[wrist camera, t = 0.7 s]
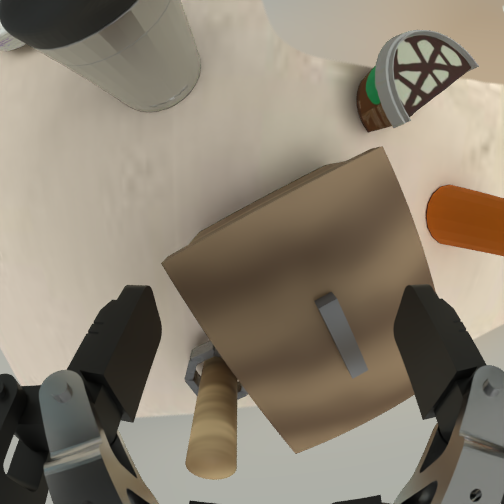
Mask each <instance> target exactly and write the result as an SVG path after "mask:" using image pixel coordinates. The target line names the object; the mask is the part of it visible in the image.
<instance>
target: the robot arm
mask: <svg viewBox="0 0 504 504" xmlns="http://www.w3.org/2000/svg"><path fill="white" fill-rule="evenodd" d="M0 22H1V24H2V26H3V27H4V29H5V30H6V31H7V32H8V33H9V34H10V35H12V36H13V37H15V38H16V39H18V40H20V41H22V42H24V43H25V44H27V45H29V46H31V47H32V48H34V49H36V50H38V51H39V52H41V53H43V54H45V55H46V56H48V57H50V58H51V59H53V60H55V61H57V62H59V63H60V64H62V65H64V66H65V67H67V68H69V69H70V70H72V71H74V72H75V73H77V74H79V75H80V76H82V77H84V78H85V79H87V80H88V81H90V82H92V83H93V84H95V85H97V86H98V87H100V88H101V89H103V90H104V91H106V92H108V93H109V94H111V95H112V96H114V97H115V98H117V99H118V100H120V101H122V102H123V103H125V104H126V105H128V106H129V107H131V108H133V109H136V110H139V111H145V112H153V111H160V110H164V109H167V108H169V107H171V106H173V105H175V104H177V103H178V102H180V101H181V100H183V99H184V98H185V97H186V96H187V95H188V94H189V93H190V92H191V90H192V89H193V87H194V86H195V84H196V82H197V80H198V77H199V74H200V69H201V64H200V57H199V54H198V51H197V48H196V45H195V41H194V38H193V35H192V32H191V29H190V26H189V23H188V20H187V18H186V15H185V12H184V9H183V6H182V3H181V0H0ZM393 332H394V339H395V341H396V344H397V347H398V349H399V352H400V354H401V357H402V360H403V363H404V365H405V368H406V371H407V374H408V376H409V379H410V382H411V385H412V388H413V391H414V394H415V397H416V400H417V403H418V406H419V409H420V412H421V415H422V419H423V420H424V419H429V418H433V417H436V419H437V422H438V423H437V424H436V425H435V427H434V429H433V431H432V434H431V436H430V439H429V441H428V444H427V446H426V448H425V451H424V453H423V455H422V457H421V460H420V462H419V464H418V466H417V468H416V470H415V472H414V474H413V476H412V477H411V479H410V481H409V482H408V483H407V484H406V486H405V487H404V488H403V489H402V491H401V492H400V494H399V495H398V496H397V498H396V500H395V502H394V503H393V504H500V503H501V504H504V372H503V371H502V370H501V369H499V368H498V367H495V366H491V365H486V363H485V361H484V360H483V358H482V356H481V354H480V352H479V350H478V349H477V347H476V345H475V344H474V342H473V340H472V338H471V336H470V335H469V333H468V331H466V328H465V326H464V325H463V323H462V322H460V318H459V316H458V315H457V313H456V312H455V310H454V308H452V307H451V306H450V305H449V304H448V303H447V302H445V301H444V300H443V299H439V298H438V296H437V294H436V293H435V291H434V290H433V288H432V287H431V286H430V285H429V284H420V285H407V286H406V288H405V290H404V292H403V296H402V299H401V302H400V305H399V309H398V312H397V315H396V318H395V321H394V327H393ZM161 334H162V326H161V321H160V317H159V313H158V310H157V306H156V302H155V299H154V295H153V291H152V289H151V287H150V286H142V285H126V286H125V287H124V289H123V291H122V292H121V294H120V296H119V297H118V299H117V300H112V301H110V302H109V303H108V304H107V305H106V306H105V307H103V308H102V309H101V310H100V312H99V313H98V315H97V317H96V318H95V320H94V324H92V325H91V327H90V329H89V330H88V334H86V336H85V337H84V339H83V341H82V343H81V345H80V346H79V348H78V350H77V352H76V354H75V356H74V357H73V359H72V361H71V363H70V365H69V367H68V368H67V370H61V371H57V372H55V373H53V374H51V375H50V376H48V377H47V378H46V379H45V380H44V382H43V383H42V385H36V386H20V385H19V384H18V382H17V381H16V379H15V378H14V377H13V376H12V375H9V374H1V375H0V504H45V502H46V498H47V494H48V490H49V492H50V495H51V498H52V501H53V504H159V503H158V502H157V500H156V498H155V497H154V495H153V494H152V493H151V491H150V490H149V489H148V487H147V486H146V485H145V483H144V482H143V480H142V479H141V476H140V475H139V473H138V471H137V469H136V467H135V465H134V463H133V461H132V459H131V456H130V454H129V452H128V450H127V448H126V446H125V444H124V441H123V439H122V437H121V434H120V432H119V431H118V427H119V423H120V421H121V420H122V421H127V422H134V419H135V416H136V412H137V409H138V406H139V403H140V400H141V397H142V393H143V390H144V387H145V384H146V381H147V378H148V375H149V372H150V369H151V366H152V363H153V360H154V357H155V354H156V352H157V349H158V346H159V343H160V340H161ZM13 435H15V436H16V437H17V438H18V439H19V441H18V444H17V447H16V450H15V452H14V455H13V458H12V461H11V464H10V468H9V470H8V473H7V474H5V472H4V468H3V463H4V459H5V457H6V454H7V451H8V448H9V446H10V443H11V440H12V438H13ZM189 504H214V503H204V502H197V501H190V502H189ZM332 504H389V503H382V502H381V496H380V495H377V496H372V497H367V498H361V499H355V500H348V501H341V502H335V503H332Z"/></svg>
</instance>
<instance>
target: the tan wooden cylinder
mask: <svg viewBox="0 0 504 504" xmlns="http://www.w3.org/2000/svg"><path fill="white" fill-rule="evenodd" d="M186 467H187V469H188V470H189V471H190V472H191V473H193V474H194V475H196V476H198V477H202V478H205V479H212V480H215V479H216V480H217V479H224V478H227V477H230V476H231V475H233V474H234V473H235V471H236V469H237V378H236V376H235V375H234V374H233V372H232V371H231V369H230V368H229V367H228V365H227V364H226V362H225V361H224V359H223V358H220V357H216V356H214V357H212V358H210V359H208V360H205V361H204V365H203V370H202V375H201V380H200V385H199V390H198V396H197V401H196V406H195V412H194V417H193V423H192V428H191V434H190V440H189V445H188V451H187V457H186Z"/></svg>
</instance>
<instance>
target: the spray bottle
mask: <svg viewBox="0 0 504 504" xmlns="http://www.w3.org/2000/svg"><path fill="white" fill-rule="evenodd" d="M426 217H427V224H428V228H429V230H430V232H431V234H432V236H433V238H434V239H435V240H437V241H438V242H439V243H440V244H445V245H451V246H456V247H461V248H466V249H471V250H476V251H481V252H486V253H491V254H496V255H500V256H504V198H500V197H497V196H493V195H489V194H485V193H482V192H478V191H474V190H470V189H466V188H461V187H457V186H453V185H446V186H442V187H440V188H439V189H438V190H437V191H436V192H435V193H433V195H432V197H431V199H430V201H429V203H428V208H427V215H426Z"/></svg>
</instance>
